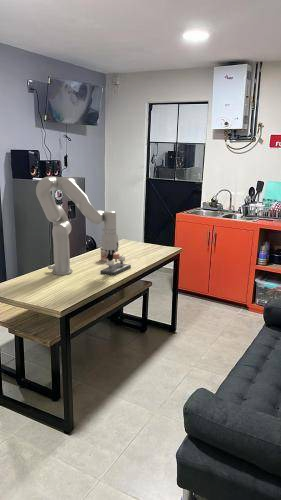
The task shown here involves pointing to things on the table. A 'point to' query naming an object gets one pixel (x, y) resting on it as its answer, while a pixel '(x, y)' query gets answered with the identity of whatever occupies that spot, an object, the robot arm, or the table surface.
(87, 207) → the robot arm
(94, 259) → the table surface
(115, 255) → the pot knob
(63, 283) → the table surface
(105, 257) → the teacup with lid
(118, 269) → the mount plate
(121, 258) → the knob far
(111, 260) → the knob near
